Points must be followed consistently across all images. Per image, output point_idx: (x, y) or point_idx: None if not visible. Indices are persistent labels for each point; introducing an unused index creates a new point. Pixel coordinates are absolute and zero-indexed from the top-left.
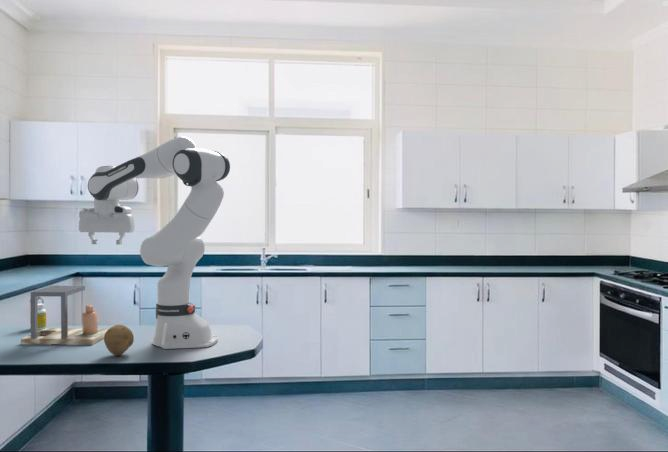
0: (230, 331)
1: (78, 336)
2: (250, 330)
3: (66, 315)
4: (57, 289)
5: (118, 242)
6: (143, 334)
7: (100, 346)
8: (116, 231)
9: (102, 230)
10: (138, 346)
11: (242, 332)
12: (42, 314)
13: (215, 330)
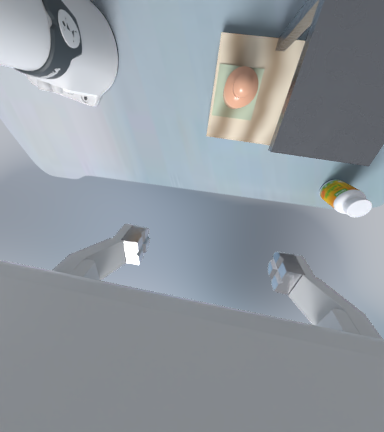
0: (38, 132)
1: (254, 66)
2: (15, 136)
3: (295, 21)
4: (364, 63)
5: (130, 229)
6: (155, 125)
7: (204, 19)
8: (83, 283)
9: (235, 325)
10: (132, 14)
11: (18, 123)
12: (339, 192)
13: (61, 142)
